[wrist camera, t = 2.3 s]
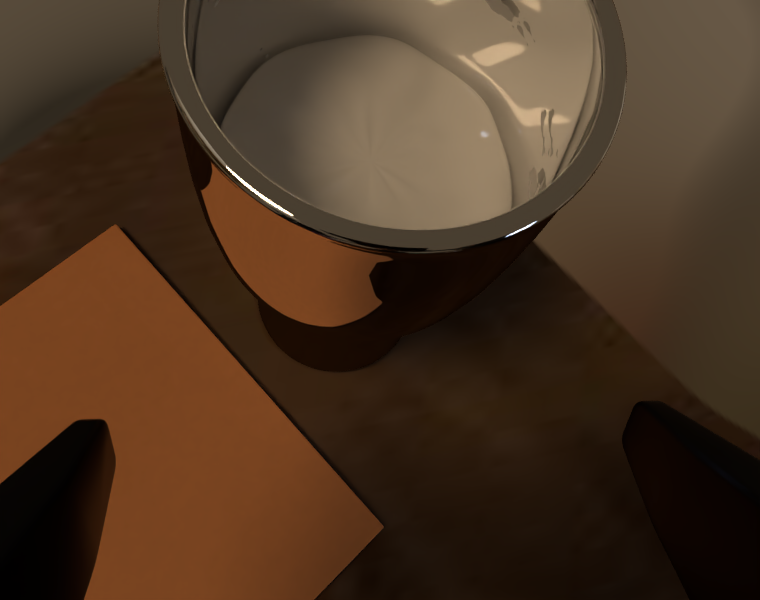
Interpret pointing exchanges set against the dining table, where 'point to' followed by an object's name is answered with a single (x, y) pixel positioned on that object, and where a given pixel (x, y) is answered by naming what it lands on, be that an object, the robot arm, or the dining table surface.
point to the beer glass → (385, 149)
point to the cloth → (171, 439)
